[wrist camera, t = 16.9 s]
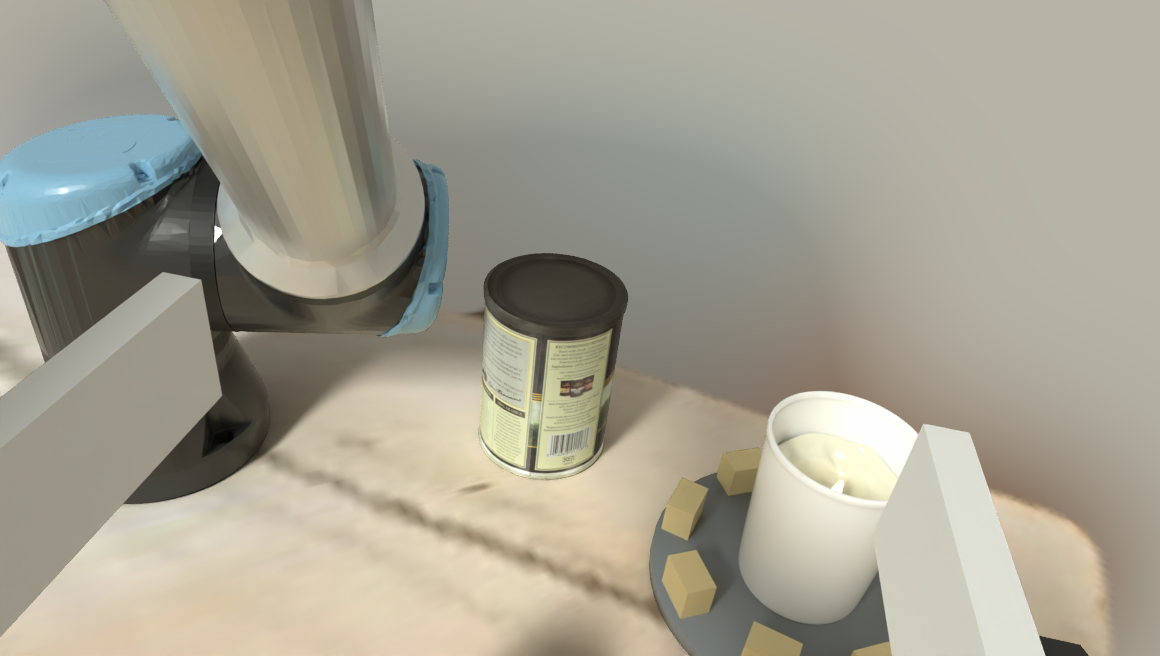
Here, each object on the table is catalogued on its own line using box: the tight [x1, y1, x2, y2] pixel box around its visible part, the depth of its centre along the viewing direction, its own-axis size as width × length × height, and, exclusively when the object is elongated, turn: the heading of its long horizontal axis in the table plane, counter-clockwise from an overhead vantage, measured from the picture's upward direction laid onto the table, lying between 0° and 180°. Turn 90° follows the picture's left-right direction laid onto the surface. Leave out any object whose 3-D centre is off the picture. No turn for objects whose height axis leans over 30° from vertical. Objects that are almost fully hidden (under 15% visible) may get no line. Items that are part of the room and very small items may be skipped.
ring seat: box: [649, 448, 892, 656], centre depth 54 cm, size 20×20×4 cm
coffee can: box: [478, 253, 628, 480], centre depth 61 cm, size 10×10×14 cm
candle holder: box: [738, 391, 918, 625], centre depth 51 cm, size 10×10×12 cm
